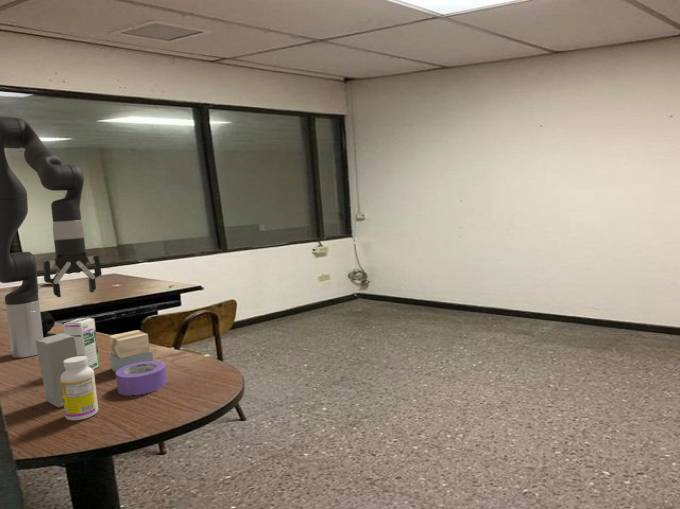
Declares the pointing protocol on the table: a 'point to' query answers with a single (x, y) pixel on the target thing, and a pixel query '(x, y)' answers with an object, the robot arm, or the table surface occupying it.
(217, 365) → the table surface
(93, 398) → the supplement bottle
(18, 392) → the table surface
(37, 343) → the skincare box
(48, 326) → the webcam
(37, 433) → the table surface
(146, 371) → the tape roll
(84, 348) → the syrup box
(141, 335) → the maple block
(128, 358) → the slate slab
